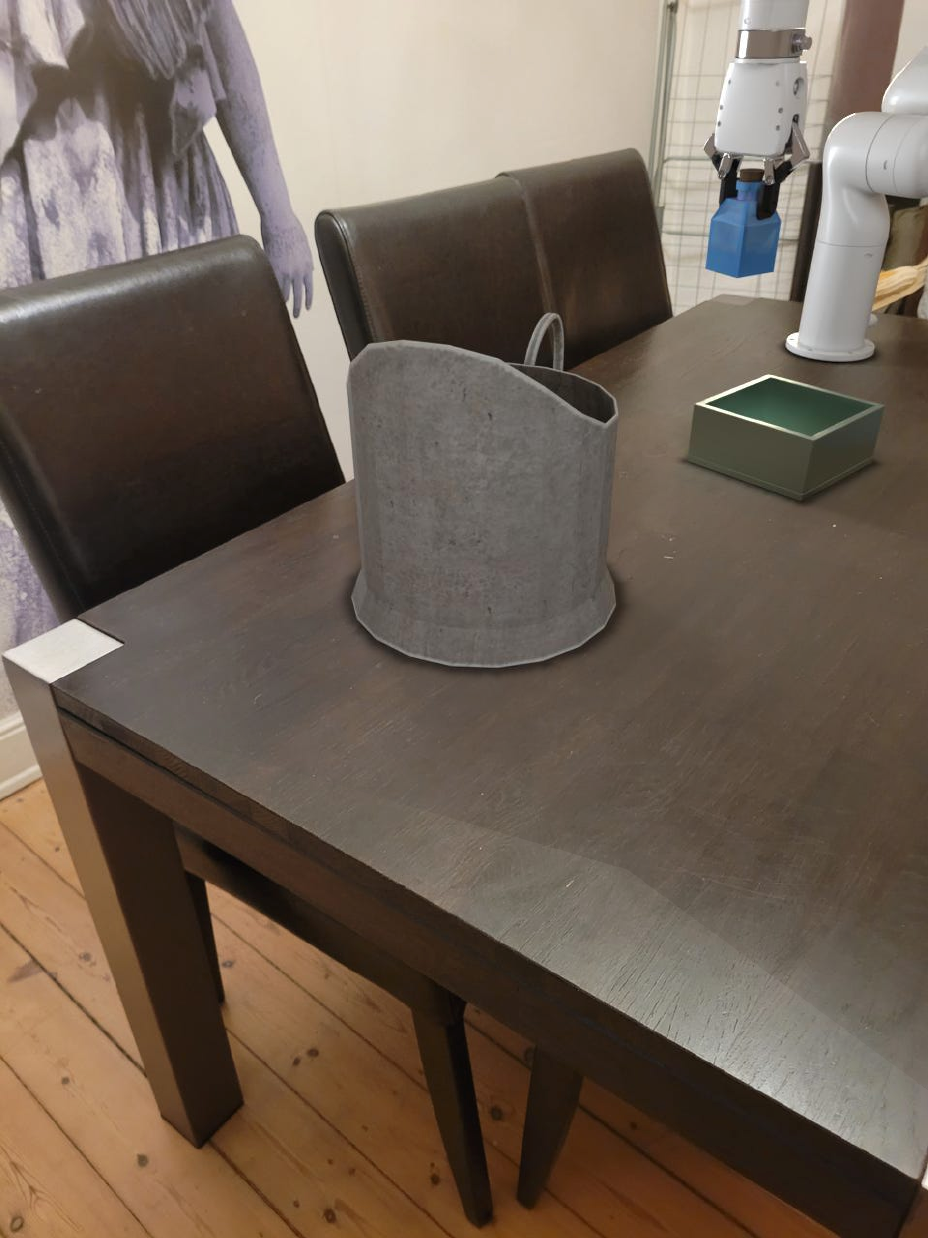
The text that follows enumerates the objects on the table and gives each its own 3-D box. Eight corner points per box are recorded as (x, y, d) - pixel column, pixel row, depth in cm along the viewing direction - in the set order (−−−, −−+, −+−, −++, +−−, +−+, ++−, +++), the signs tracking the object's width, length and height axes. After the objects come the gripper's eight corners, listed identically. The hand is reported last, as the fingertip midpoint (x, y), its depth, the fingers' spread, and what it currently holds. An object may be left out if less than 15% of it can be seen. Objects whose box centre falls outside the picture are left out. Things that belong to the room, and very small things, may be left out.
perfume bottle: (737, 278, 118) (750, 175, 112) (705, 268, 123) (716, 169, 116) (773, 271, 121) (789, 170, 114) (741, 262, 125) (754, 164, 119)
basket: (759, 428, 114) (768, 373, 110) (871, 462, 105) (885, 405, 101) (687, 460, 106) (694, 403, 102) (801, 501, 97) (813, 440, 93)
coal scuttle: (303, 632, 77) (264, 330, 64) (452, 482, 102) (447, 241, 88) (570, 694, 70) (591, 367, 56) (661, 517, 94) (691, 259, 80)
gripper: (852, 47, 105) (822, 219, 115) (726, 46, 116) (708, 203, 126) (816, 50, 101) (788, 228, 111) (689, 48, 111) (674, 211, 121)
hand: (746, 213), depth 118 cm, fingers closed on perfume bottle, 4 cm apart
